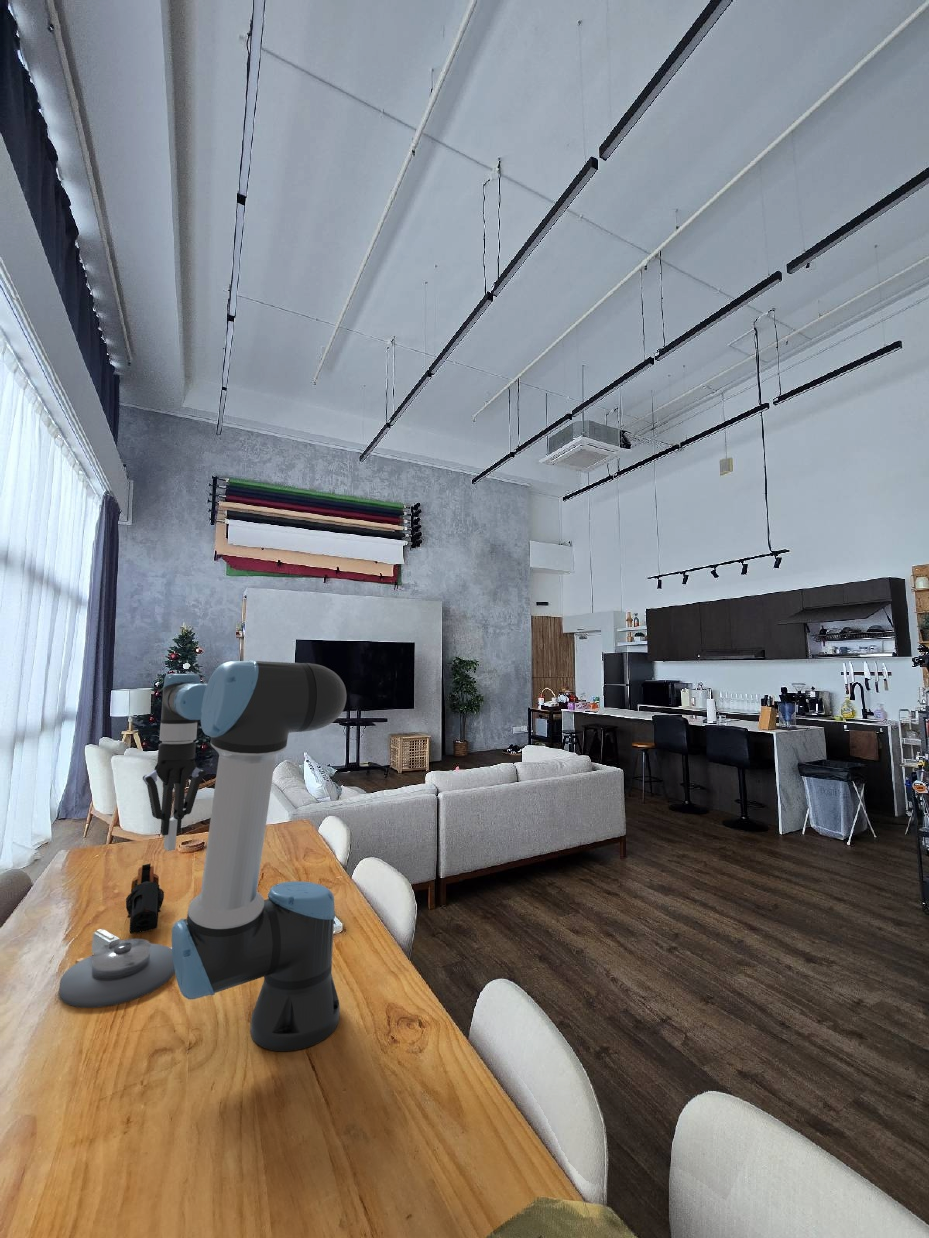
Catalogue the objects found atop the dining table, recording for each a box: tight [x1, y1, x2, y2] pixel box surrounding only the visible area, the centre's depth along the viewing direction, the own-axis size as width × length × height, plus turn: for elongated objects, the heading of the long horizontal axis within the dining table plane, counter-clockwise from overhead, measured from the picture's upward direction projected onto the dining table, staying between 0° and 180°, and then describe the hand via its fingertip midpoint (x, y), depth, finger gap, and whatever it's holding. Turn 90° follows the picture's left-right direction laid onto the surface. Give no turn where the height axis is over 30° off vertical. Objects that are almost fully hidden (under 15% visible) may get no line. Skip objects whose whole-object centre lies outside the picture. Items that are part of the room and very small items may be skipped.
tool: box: [125, 863, 165, 935], centre depth 137 cm, size 8×23×15 cm, turn 30°
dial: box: [91, 928, 152, 980], centre depth 112 cm, size 16×10×4 cm, turn 57°
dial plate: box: [58, 943, 175, 1009], centre depth 112 cm, size 22×22×2 cm
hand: (169, 848), depth 122 cm, fingers closed
